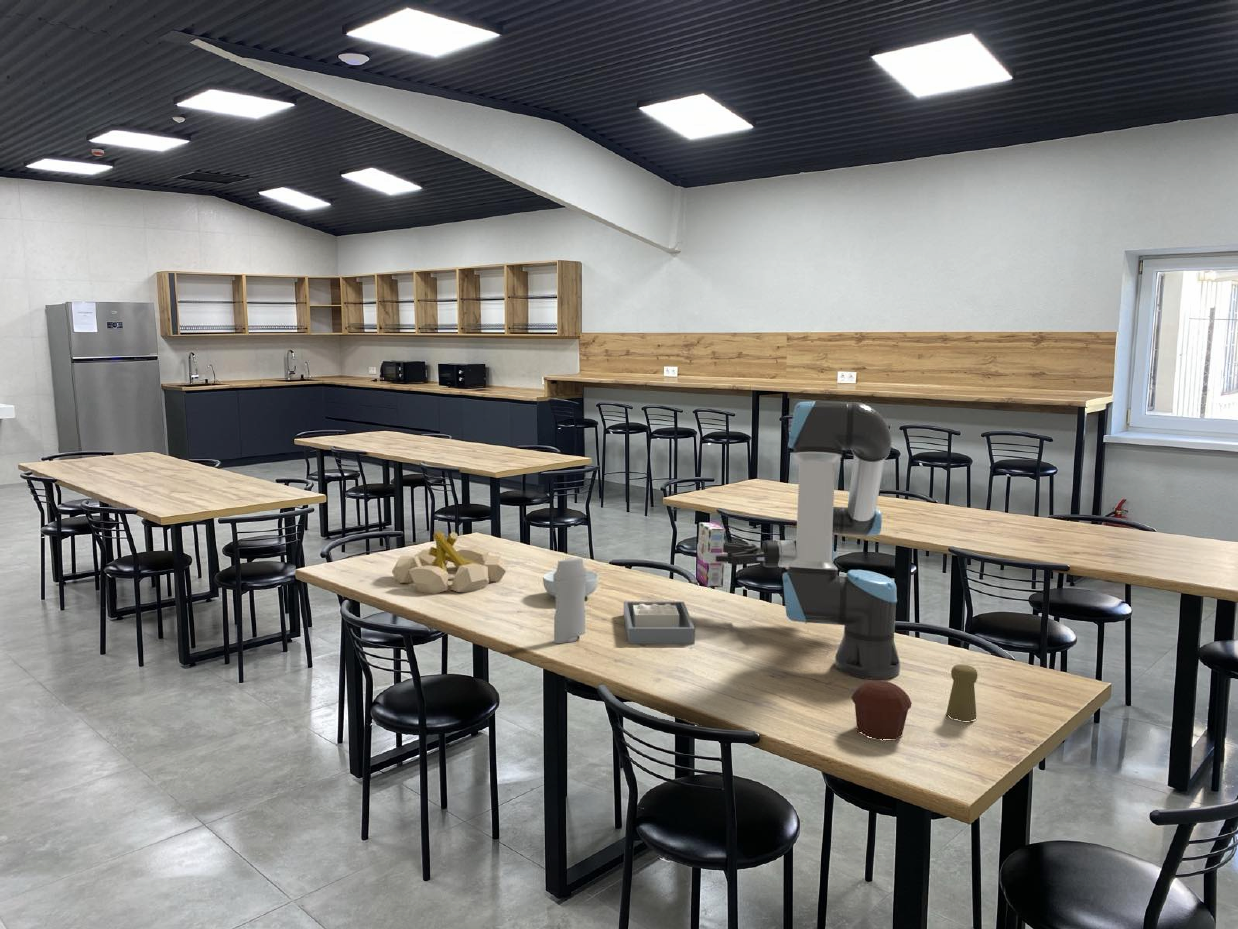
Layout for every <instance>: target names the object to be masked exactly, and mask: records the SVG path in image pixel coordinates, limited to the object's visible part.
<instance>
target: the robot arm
mask: <svg viewBox="0 0 1238 929" xmlns="http://www.w3.org/2000/svg"><path fill="white" fill-rule="evenodd" d="M885 420H886V419H884V418H883V416H882V415H881V414H880V413H879V412H878V411H877V410H875V409H874V408H873V407H871V406H870V405H868V404H864V403H862V402H854V401H853V402H844V401H843V402H842V401H826V400H825V401H824V400H823V401H822V400H813V401H799V402H797V404H796V405H795V407H794V410H793V415H792V420H791V427H790V430H789V431H790V432H789V438H788V444H787V446H788V448H789V449H793V457H794V458H795V459H796V460H798V462H799V466H798V467H799V469H798V470H799V471H798V489H797V490H798V491H797V495H798V496H797V514H796V516H797V517H796V518H797V519H796V521H797V522H796V540H792V539H791V540H790V539H789V540H787V539H785V540H778V541H777V540H768V539H767V540H763V541H762V545H761V547H757V545H756V544H754V543H752V544H751V543H749V544H748V543H747V544H745V543H736V542H735V543H734V542H725V553H703V563H724V564H729V565H731V566H740V565H741V566H742V565H752V564H760V565H761V564H762V566H763V567H765V568H777V567H779V568H785V570H788V572H786V571H785V572H784V573H782V582H783V596H784V605H785V608H784V609H785V615H786V617H787V619H789V620H790V621H792V622H798V623H799V622H800V623H804V624H809V623H810V624H820V625H821V624H823V625H835V626H836V625H837V626H839V625H840V626H844V628H843V636H842V638H841V641H840V644H839V646H838V648H837V651H836V652H835V653H836V654H835V658H834V659H835V660H834V666H835V668H836V669H837V670H838V671H840V672H842V673H843V674H846V675H848V674H849V676H852V677H856V678H860V679H866V678H868V679H867V680H887V679H892V678H895V677H896V676H898V675H899V674H900V673H901V672H900V671H901V660H900V658H899V654H898V650H897V646H896V644H895V629H896V627H895V626H896V625H895V624H896V623H895V622H896V610H897V608H896V606H897V602H898V598H897V585H896V583H895V581H894V580H893V579H892V578H890V577H888V576H886V575H884V574H881V573H877V572H875V571H871V570H866V569H865V570H863V569H849V570H848V571H847V573H846V576H841V575H840V576H839V575H838V567H837V566H836V565H835V564H834V559H835V552H834V551H835V550H834V549H835V548H834V544H833V535H835V534H836V535H850V536H863V537H868V536H871V537H873V536H875V537H877V536H879V535H880V534H881V531H882V522H883V516H882V511H881V509H878V508H877V506H878V501H879V500H878V499H879V493H880V487H881V483H882V482H881V481H882V476H883V470H884V465H885V460H886V459H887V458H888V457H889V455H890V453H891V450H892V434H891V431H890V428H889V426H888V424H887V422H886V421H885ZM843 450H844V451H845V450H846V451H850V450H851V452H852V454H853V460H852V468H851V469H852V470H851V478H850V486H849V493H848V494H849V495H848V499H847V500H848V501H847V507H845V506H844V507H842V506H841V507H840V506H835V505H834V502H835V501H834V500H835V499H834V498H835V476H836V475H835V474H836V473H835V472H836V471H835V470H836V468H835V467H836V464H837V462H838V461H839V460H841V459H842V457H843V456H842V454H843ZM696 552H697V554H698V543H697V548H696Z"/></svg>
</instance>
